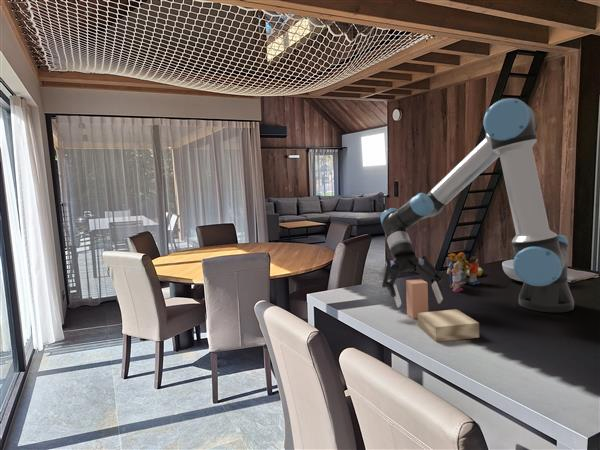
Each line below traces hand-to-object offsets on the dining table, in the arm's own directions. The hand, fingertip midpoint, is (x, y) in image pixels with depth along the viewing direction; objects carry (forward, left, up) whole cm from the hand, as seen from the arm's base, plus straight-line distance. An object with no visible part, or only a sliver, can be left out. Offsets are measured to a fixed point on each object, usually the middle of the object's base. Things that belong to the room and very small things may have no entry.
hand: (420, 303), depth 124 cm
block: (+2, -2, -5) cm, 5 cm away
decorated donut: (-2, -62, -5) cm, 62 cm away
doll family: (-2, -42, -5) cm, 42 cm away
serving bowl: (-26, -59, -5) cm, 65 cm away
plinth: (-10, +8, -5) cm, 14 cm away
